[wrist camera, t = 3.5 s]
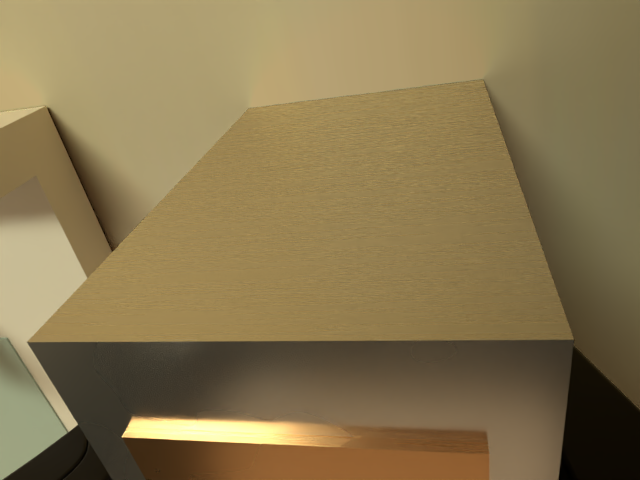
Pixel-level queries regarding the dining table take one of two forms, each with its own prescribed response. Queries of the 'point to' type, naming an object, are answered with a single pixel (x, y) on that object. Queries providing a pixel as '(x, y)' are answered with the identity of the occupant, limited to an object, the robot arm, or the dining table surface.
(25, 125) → the pin tray
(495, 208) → the block
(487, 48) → the dining table surface
